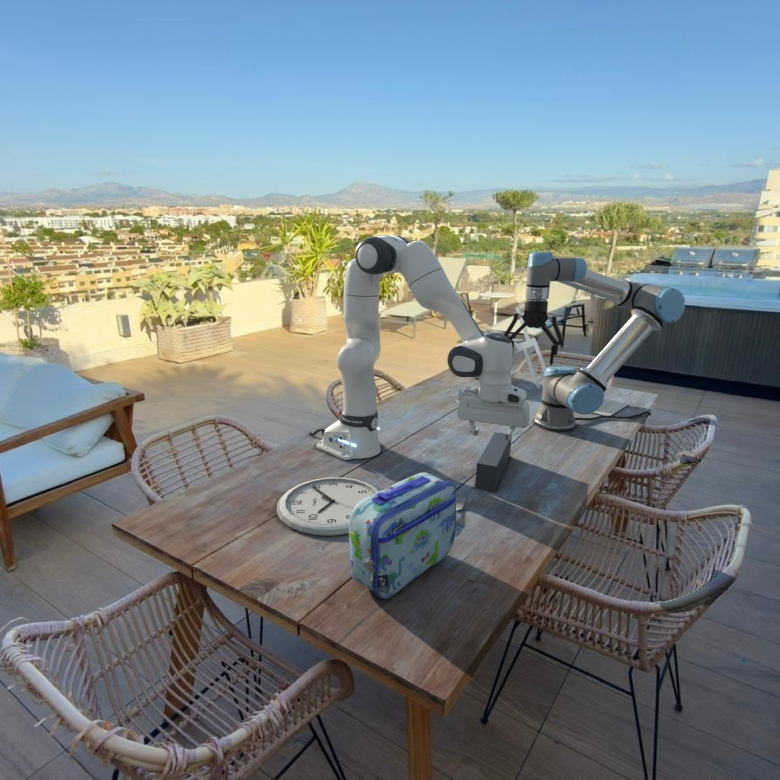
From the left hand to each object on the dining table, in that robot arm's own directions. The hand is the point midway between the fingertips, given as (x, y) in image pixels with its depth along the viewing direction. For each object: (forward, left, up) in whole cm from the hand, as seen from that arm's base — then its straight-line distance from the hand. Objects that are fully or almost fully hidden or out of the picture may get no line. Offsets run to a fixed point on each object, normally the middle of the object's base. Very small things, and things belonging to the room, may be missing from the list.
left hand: (491, 436), depth 151 cm
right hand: (-1, +39, +14) cm, 41 cm away
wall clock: (-32, -35, -15) cm, 49 cm away
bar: (-2, +10, -15) cm, 18 cm away
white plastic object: (-32, +105, -15) cm, 111 cm away
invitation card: (+16, +95, -15) cm, 97 cm away
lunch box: (-1, -50, -15) cm, 52 cm away
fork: (-1, -22, -15) cm, 27 cm away
